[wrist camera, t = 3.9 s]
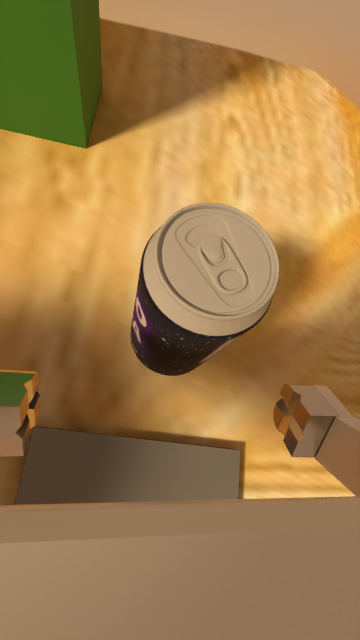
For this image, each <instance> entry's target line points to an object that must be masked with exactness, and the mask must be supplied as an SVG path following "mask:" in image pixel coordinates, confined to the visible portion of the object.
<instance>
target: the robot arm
mask: <svg viewBox="0 0 360 640" xmlns="http://www.w3.org/2000/svg"><path fill="white" fill-rule="evenodd" d="M38 385H39V374H38V373H37V372H31V371H16V370H0V457H6V456H24V454H25V451H26V448H27V446H28V443H29V440H30V438H31V436H30V429H31V428H32V427H34V426H35V424H36V421H37V418H38V413H39V408H40V394H39V393H38V392H37V391H36V390H37V387H38ZM280 395H281V398H282V399H281V400H279V401H278V402H277V403H276V405H275V408H274V411H273V419H274V423H275V426H276V428H277V430H278V431H279V432H281V433H282V434H283V435H285V436H284V440H283V441H284V443H285V445H286V447H287V449H288V451H289V452H290V454H291V456H292V457H315V459H316V460H317V461H318V462H319V463H320V464H321V465H322V466H324V467H325V468H326V469H327V470H328V471H329V472H330V473H331V474H332V475H333V476H335V477H336V478H337V479H338V480H339V481H340V482H341V483H342V484H343V485H344V486H346V487H347V488H348V489H349V490H350V491H351V492H352V493H353V494H354V495H355V497H314V498H271V499H229V500H189V501H148V502H107V503H66V504H25V505H0V640H360V419H359V418H357V417H353V416H352V415H351V414H350V412H349V411H348V410H347V409H346V408H345V406H344V405H343V404H342V403H341V402H340V401H339V399H338V398H337V397H336V396H335V395H334V393H333V392H332V391H331V390H330V389H329V388H328V387H326V386H325V385H311V386H310V385H287V384H285V385H284V386H283V387H282V389H281V391H280Z"/></svg>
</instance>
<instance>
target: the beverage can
mask: <svg viewBox="0 0 360 640" xmlns="http://www.w3.org/2000/svg"><path fill="white" fill-rule="evenodd" d="M279 271H280V265H279V258H278V254H277V251H276V248H275V246H274V244H273V242H272V240H271V238H270V237H269V235H268V234H267V232H266V231H265V230H264V229H263V228H262V226H261V225H260V224H259V223H258V222H256V221H255V220H254V219H253V218H252V217H250V216H249V215H247V214H246V213H244V212H242V211H240V210H238V209H236V208H233V207H230V206H227V205H223V204H218V203H199V204H194V205H190V206H187V207H184V208H182V209H181V210H179V211H177V212H175V213H174V214H173V215H172V216H170V217H169V218H168V219H167V220H166V222H165V223H164V224H163V225H162V226H161V227H160V228H159V229H158V230H157V231H156V232H155V233H154V234H153V235H152V237H151V238H150V239H149V241H148V243H147V245H146V247H145V249H144V252H143V255H142V260H141V267H140V273H139V280H138V286H137V293H136V299H135V306H134V313H133V319H132V326H131V343H132V347H133V350H134V352H135V354H136V356H137V357H138V359H139V360H140V361H141V362H142V363H143V364H144V365H145V366H146V367H148V368H149V369H151V370H152V371H154V372H157V373H159V374H163V375H170V376H175V375H182V374H185V373H188V372H190V371H192V370H193V369H195V368H196V367H198V366H199V365H201V364H202V363H203V362H205V361H206V360H208V359H209V358H210V357H212V356H213V355H215V354H216V353H217V352H219V351H220V350H222V349H223V348H224V347H226V346H227V345H229V344H230V343H232V342H233V341H234V340H236V339H237V338H239V337H240V336H241V335H243V334H244V333H246V332H247V331H248V330H250V329H251V328H253V327H254V326H255V325H256V324H257V323H258V322H259V321H260V320H261V319H262V318H263V317H264V315H265V314H266V312H267V310H268V308H269V306H270V304H271V301H272V297H273V294H274V292H275V289H276V287H277V284H278V279H279Z"/></svg>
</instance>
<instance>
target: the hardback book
mask: <svg viewBox="0 0 360 640" xmlns="http://www.w3.org/2000/svg"><path fill="white" fill-rule="evenodd" d="M101 91H102V68H101V45H100V21H99V1H98V0H0V129H4V130H8V131H12V132H17V133H21V134H25V135H30V136H34V137H38V138H43V139H47V140H51V141H56V142H60V143H64V144H68V145H73V146H77V147H81V148H87V144H88V141H89V137H90V133H91V129H92V126H93V122H94V118H95V114H96V110H97V107H98V103H99V99H100V95H101Z"/></svg>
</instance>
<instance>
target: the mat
mask: <svg viewBox="0 0 360 640" xmlns="http://www.w3.org/2000/svg"><path fill="white" fill-rule="evenodd" d="M239 470H240V450H235V449H226V448H218V447H209V446H200V445H191V444H183V443H174V442H165V441H156V440H148V439H139V438H130V437H122V436H113V435H104V434H95V433H87V432H78V431H69V430H61V429H52V428H43V427H34V429H33V433H32V437H31V440H30V444H29V448H28V452H27V456H26V460H25V464H24V468H23V472H22V476H21V480H20V484H19V488H18V492H17V496H16V500H15V503H14V505H25V504H66V503H107V502H148V501H189V500H229V499H238V492H239Z"/></svg>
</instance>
